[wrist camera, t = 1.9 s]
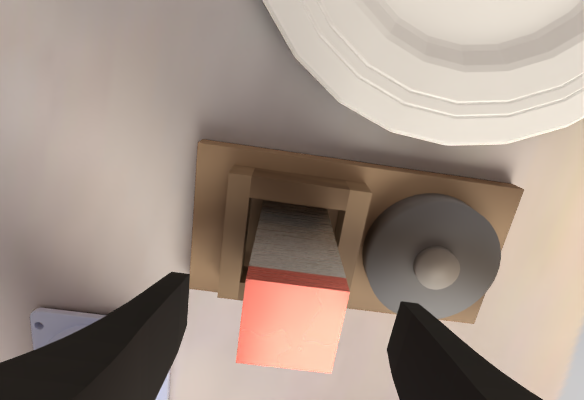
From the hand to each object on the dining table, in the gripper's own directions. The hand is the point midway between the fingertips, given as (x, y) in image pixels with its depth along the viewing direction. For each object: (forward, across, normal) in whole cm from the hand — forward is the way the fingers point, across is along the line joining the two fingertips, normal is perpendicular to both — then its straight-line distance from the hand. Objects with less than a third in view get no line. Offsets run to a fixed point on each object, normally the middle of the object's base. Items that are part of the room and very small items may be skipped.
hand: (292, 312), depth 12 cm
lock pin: (+7, 0, 0) cm, 7 cm away
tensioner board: (+8, -3, 0) cm, 8 cm away
